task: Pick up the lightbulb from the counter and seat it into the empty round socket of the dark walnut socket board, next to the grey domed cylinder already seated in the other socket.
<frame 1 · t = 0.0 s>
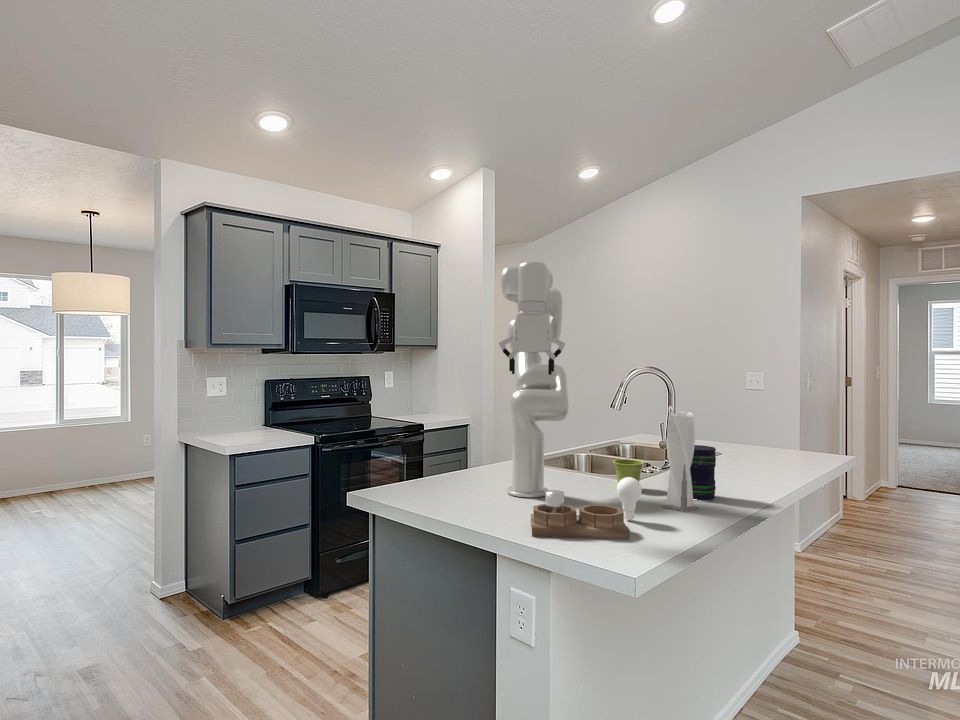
hand: (531, 374, 156), 37 cm above the countertop, tool pointing down, fingers open, 9 cm apart
skyscraper: (679, 507, 165), on the countertop
plant pot: (628, 489, 187), on the countertop
socket board: (577, 530, 141), on the countertop
lightbulb: (628, 521, 150), on the countertop
grey domed cylinder: (554, 521, 141), point 2 cm above the countertop, touching socket board
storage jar: (697, 497, 177), on the countertop
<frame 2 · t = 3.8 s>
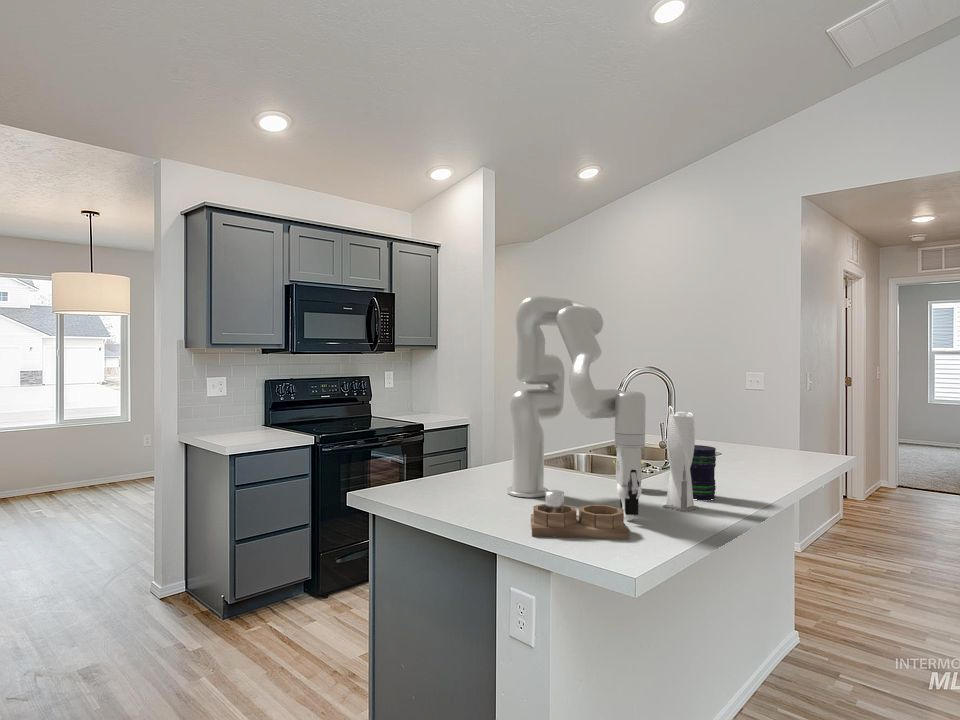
hand: (629, 510, 150), 3 cm above the countertop, tool pointing down, fingers closed on lightbulb, 5 cm apart
lightbulb: (628, 521, 150), on the countertop, touching gripper
everything else where it was.
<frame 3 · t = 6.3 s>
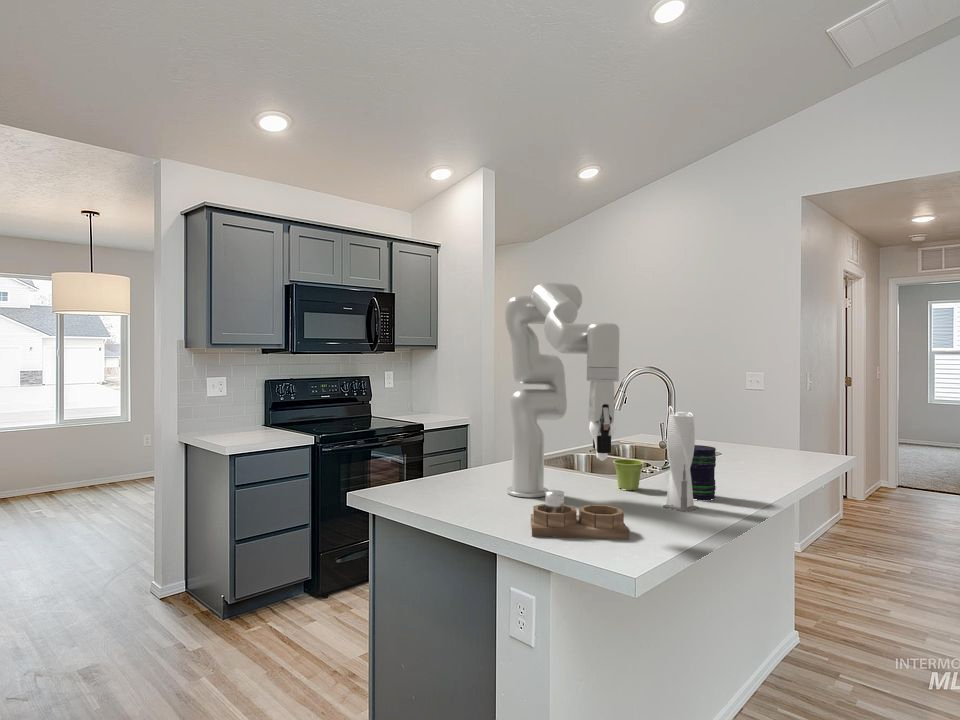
hand: (601, 450, 141), 19 cm above the countertop, tool pointing down, fingers closed on lightbulb, 5 cm apart
lightbulb: (601, 461, 141), point 16 cm above the countertop, touching gripper
everything else where it was.
when the fingers open (6 cm above the countertop, at t = 9.1 s): lightbulb drops 2 cm, resting on socket board.
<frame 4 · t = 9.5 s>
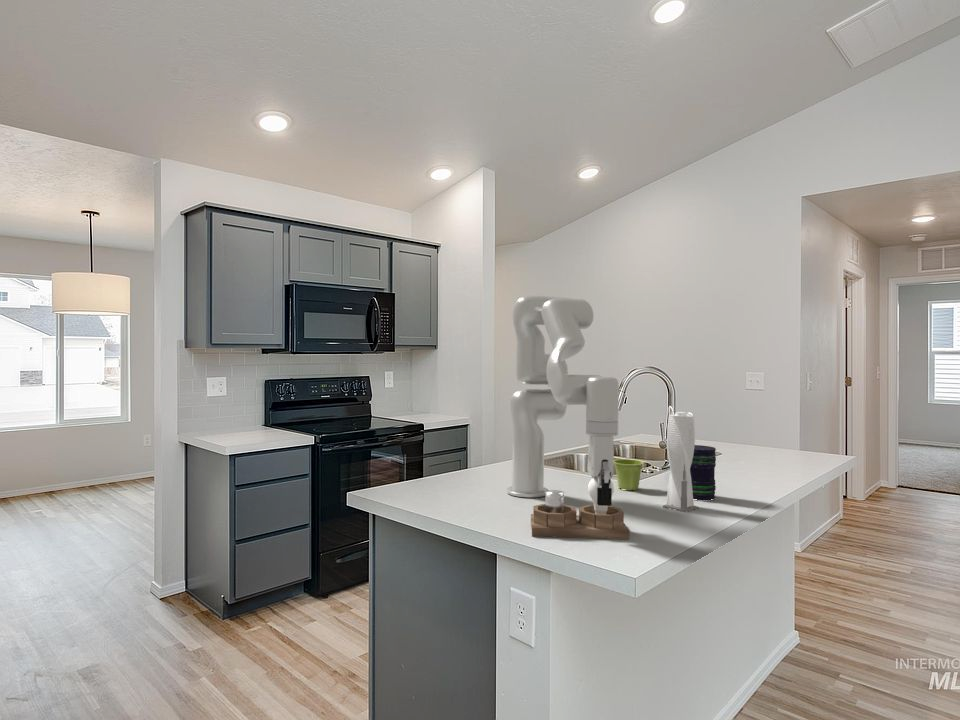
hand: (601, 500, 140), 7 cm above the countertop, tool pointing down, fingers open, 9 cm apart
lightbulb: (600, 522, 141), point 2 cm above the countertop, touching socket board
everything else where it was.
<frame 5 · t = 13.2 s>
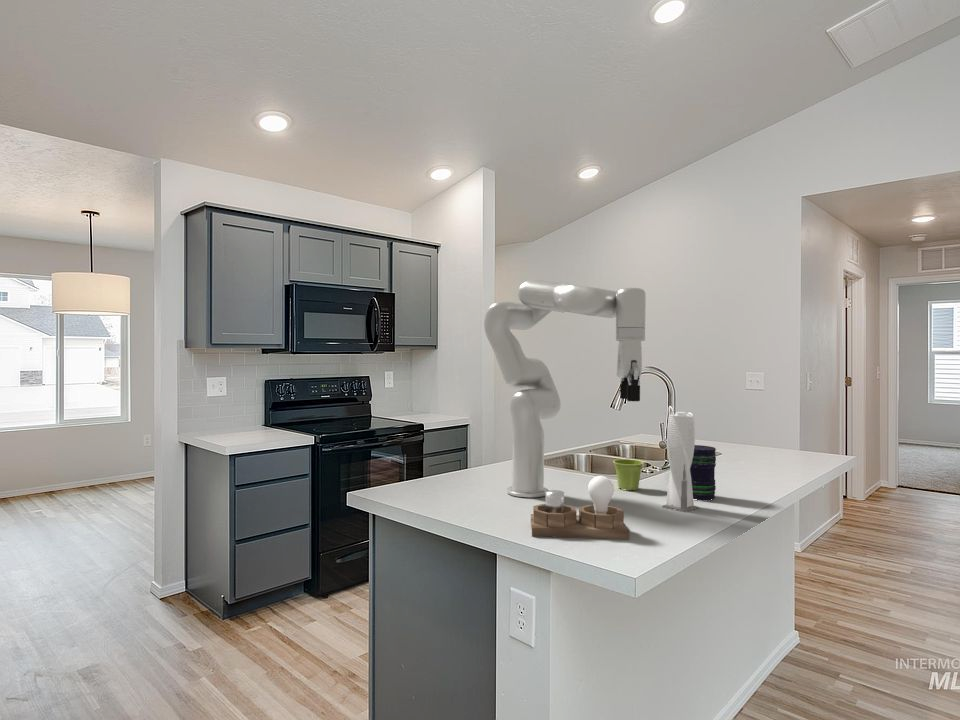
hand: (629, 399, 156), 30 cm above the countertop, tool pointing down, fingers open, 9 cm apart
nothing on the countertop moved.
at the end: lightbulb 0.3 cm from the target spot on the socket board, point 1.8 cm above the socket board's base; the gripper is holding nothing; grey domed cylinder moved 0.0 cm from its start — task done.
